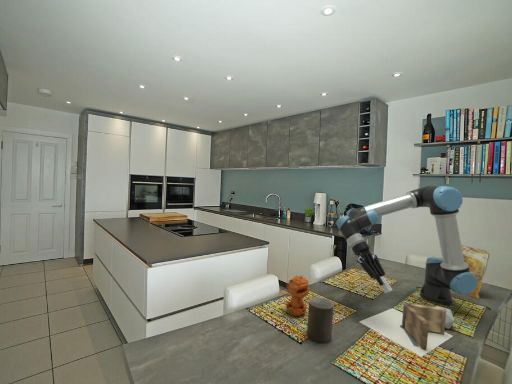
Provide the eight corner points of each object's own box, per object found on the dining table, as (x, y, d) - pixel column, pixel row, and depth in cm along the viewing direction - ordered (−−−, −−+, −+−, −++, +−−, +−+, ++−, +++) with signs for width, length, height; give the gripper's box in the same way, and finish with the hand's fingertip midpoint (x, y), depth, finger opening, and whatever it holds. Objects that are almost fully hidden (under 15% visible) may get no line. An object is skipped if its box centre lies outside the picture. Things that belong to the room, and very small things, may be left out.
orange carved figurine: (308, 320, 115) (311, 281, 114) (284, 316, 117) (286, 278, 116) (308, 308, 126) (310, 272, 125) (286, 305, 128) (288, 269, 127)
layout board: (392, 309, 130) (392, 308, 130) (453, 337, 108) (453, 335, 108) (358, 322, 116) (358, 321, 116) (421, 358, 94) (421, 356, 94)
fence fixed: (402, 328, 112) (404, 304, 112) (401, 325, 114) (402, 302, 114) (445, 335, 109) (447, 310, 108) (442, 332, 111) (444, 308, 110)
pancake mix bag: (450, 285, 167) (453, 242, 165) (485, 298, 149) (490, 250, 148) (443, 286, 164) (447, 243, 163) (479, 300, 147) (484, 251, 145)
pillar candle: (317, 345, 98) (320, 307, 97) (302, 331, 106) (304, 296, 106) (336, 339, 102) (339, 302, 102) (320, 326, 111) (322, 292, 110)
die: (454, 327, 117) (442, 304, 122) (463, 327, 110) (449, 302, 115) (435, 332, 118) (423, 308, 124) (442, 331, 111) (429, 307, 116)
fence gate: (404, 328, 112) (405, 305, 111) (408, 329, 111) (410, 306, 111) (422, 349, 98) (424, 323, 97) (427, 349, 98) (430, 323, 97)
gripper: (361, 247, 132) (391, 292, 119) (344, 250, 124) (373, 298, 111) (371, 239, 127) (403, 285, 114) (354, 241, 120) (386, 291, 106)
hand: (388, 291), depth 113 cm, fingers closed
